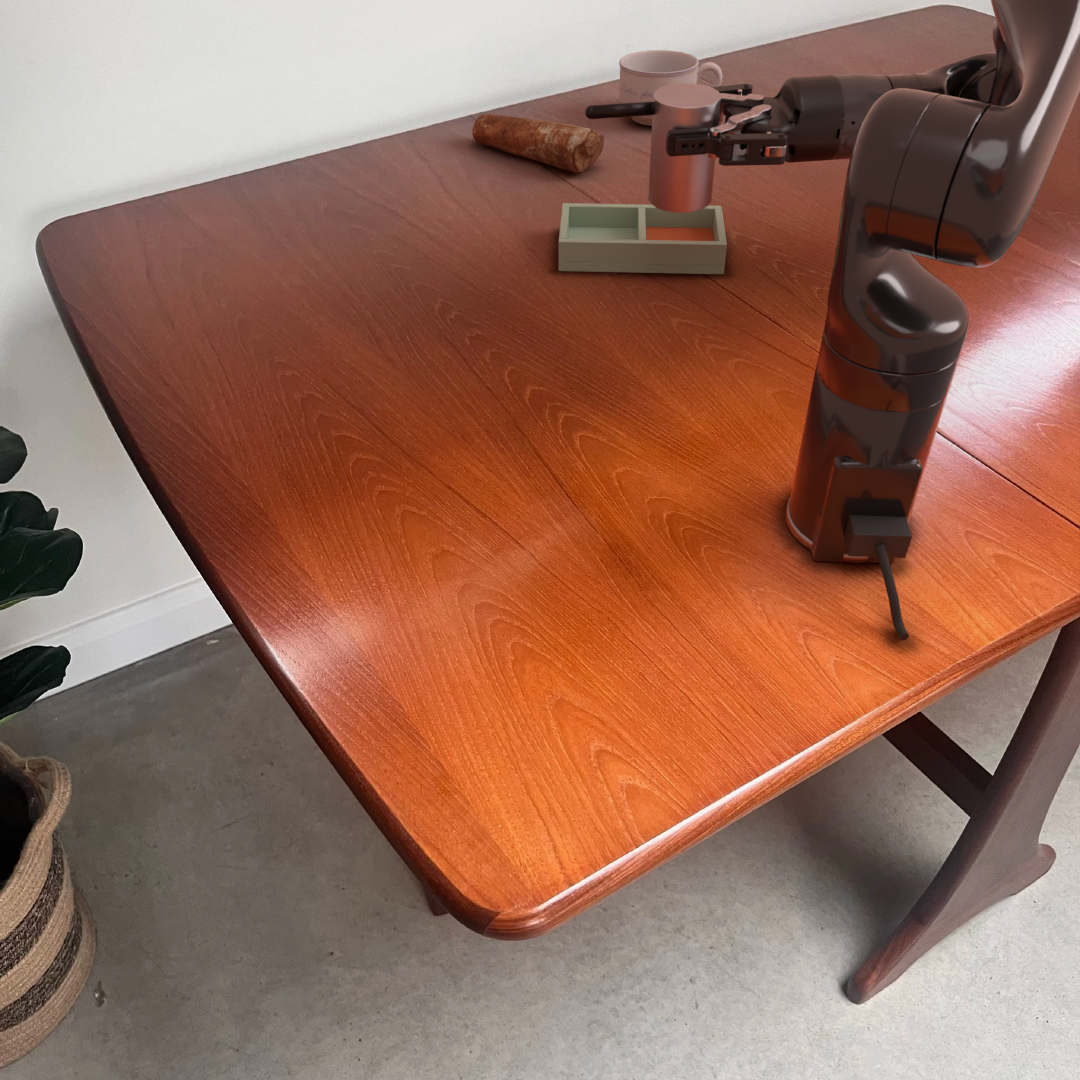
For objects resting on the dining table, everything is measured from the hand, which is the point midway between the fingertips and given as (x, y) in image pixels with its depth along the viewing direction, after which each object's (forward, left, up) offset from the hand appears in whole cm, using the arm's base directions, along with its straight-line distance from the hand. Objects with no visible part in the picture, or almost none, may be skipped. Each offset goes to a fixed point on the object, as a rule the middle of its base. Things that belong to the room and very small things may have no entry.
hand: (660, 129), depth 98 cm
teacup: (+49, -3, -18) cm, 52 cm away
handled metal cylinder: (0, +1, -7) cm, 7 cm away
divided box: (+10, +1, -18) cm, 20 cm away
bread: (+35, +15, -18) cm, 42 cm away
